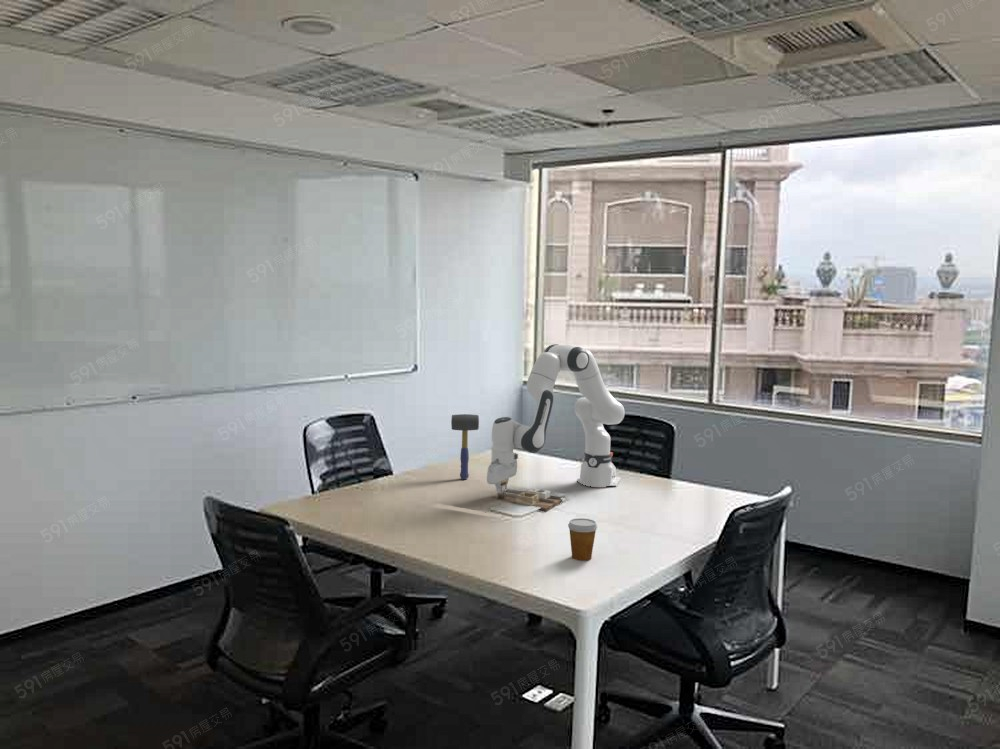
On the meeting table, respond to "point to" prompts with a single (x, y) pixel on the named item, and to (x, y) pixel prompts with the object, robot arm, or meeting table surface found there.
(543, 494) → the block
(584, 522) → the disposable coffee cup
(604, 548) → the meeting table surface
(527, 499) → the socket
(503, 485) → the grey and tan cylinder
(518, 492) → the board
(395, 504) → the meeting table surface
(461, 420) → the rubber mallet
